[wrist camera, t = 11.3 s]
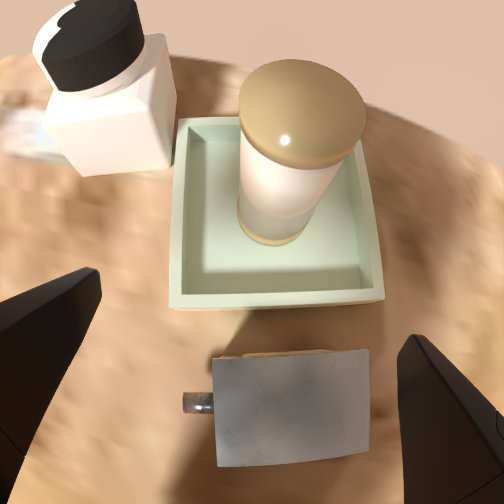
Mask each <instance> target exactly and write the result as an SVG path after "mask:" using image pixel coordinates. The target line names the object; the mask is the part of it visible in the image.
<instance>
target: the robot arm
mask: <svg viewBox="0 0 504 504" xmlns="http://www.w3.org/2000/svg"><path fill="white" fill-rule="evenodd" d="M101 298H102V290H101V281H100V273H99V271H98V270H96V269H93V268H89V267H84V268H82V269H79V270H77V271H74V272H72V273H69V274H67V275H64V276H62V277H59V278H57V279H54V280H52V281H50V282H47V283H45V284H42V285H40V286H37V287H35V288H33V289H30V290H28V291H26V292H23V293H21V294H19V295H16V296H14V297H12V298H9V299H7V300H5V301H2V302H0V504H7V502H8V499H9V497H10V494H11V491H12V489H13V486H14V483H15V481H16V478H17V476H18V473H19V471H20V469H21V466H22V464H23V461H24V459H25V457H24V456H26V454H27V451H28V449H29V447H30V445H31V442H32V440H33V438H34V436H35V433H36V431H37V429H38V427H39V425H40V423H41V421H42V419H43V416H44V414H45V412H46V410H47V408H48V406H49V404H50V402H51V400H52V398H53V396H54V394H55V392H56V390H57V388H58V386H59V384H60V382H61V381H62V379H63V377H64V375H65V373H66V371H67V369H68V367H69V365H70V364H71V362H72V360H73V358H74V356H75V355H76V353H77V351H78V349H79V347H80V345H81V343H82V342H83V339H84V337H85V335H86V333H87V330H88V328H89V326H90V323H91V321H92V319H93V317H94V314H95V312H96V310H97V308H98V306H99V303H100V301H101ZM397 380H398V411H399V421H400V432H401V444H402V459H403V479H404V504H504V417H503V416H502V415H501V414H500V413H499V411H498V410H496V408H495V407H494V406H493V405H492V404H491V403H490V402H489V401H488V400H487V399H486V398H485V397H484V396H483V394H482V393H481V392H480V391H479V390H478V389H477V388H476V387H475V386H474V385H473V384H472V383H471V382H470V381H469V380H468V379H467V378H466V377H465V376H464V375H463V374H462V373H461V372H460V371H459V370H458V369H457V368H456V367H455V366H454V365H453V364H452V363H451V362H450V361H449V360H448V359H447V358H446V357H445V356H444V355H443V354H442V353H441V352H440V351H439V350H438V349H437V348H436V347H435V346H434V345H433V344H432V343H431V342H430V341H429V340H428V339H427V338H426V337H425V336H423V335H417V334H412V335H410V336H409V337H408V339H407V341H406V342H405V344H404V346H403V347H402V349H401V350H400V352H399V354H398V357H397Z"/></svg>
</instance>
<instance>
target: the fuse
mask: <svg viewBox="0 0 504 504" xmlns="http://www.w3.org/2000/svg"><path fill="white" fill-rule="evenodd" d="M366 122H367V113H366V108H365V104H364V102H363V99H362V97H361V96H360V95H359V92H358V91H357V90H356V88H355V87H354V86H353V85H352V84H351V83H350V82H349V81H348V80H347V79H346V78H344V77H343V76H342V75H340V74H339V73H337V72H336V71H334V70H332V69H330V68H328V67H326V66H323V65H320V64H318V63H314V62H311V61H304V60H296V59H292V60H291V59H287V60H279V61H274V62H271V63H268V64H265V65H263V66H261V67H259V68H257V69H256V70H254V71H253V72H252V73H251V74H250V75H249V76H248V77H247V78H246V79H245V81H244V83H243V84H242V87H241V90H240V95H239V123H240V127H241V144H240V176H239V197H238V201H237V218H238V222H239V224H240V227H241V228H242V230H243V232H244V233H245V234H246V235H247V236H248V237H249V238H250V239H252V240H253V241H255V242H257V243H259V244H261V245H265V246H271V247H277V246H283V245H286V244H288V243H291V242H292V241H294V240H295V239H296V238H298V237H299V236H300V234H301V233H302V232H303V230H304V229H305V227H306V225H307V223H308V221H309V218H310V216H311V214H312V212H313V211H314V209H315V207H316V206H317V204H318V202H319V201H320V199H321V198H322V196H323V194H324V193H325V191H326V189H327V188H328V186H329V184H330V183H331V181H332V179H333V177H334V176H335V174H336V172H337V171H338V169H339V167H340V166H341V164H342V162H343V161H344V159H345V158H346V157H347V156H348V155H349V154H350V153H351V152H352V150H353V149H354V147H355V146H356V144H357V142H358V141H359V139H360V137H361V136H362V134H363V132H364V130H365V126H366Z"/></svg>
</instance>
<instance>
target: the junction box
mask: <svg viewBox="0 0 504 504" xmlns="http://www.w3.org/2000/svg"><path fill="white" fill-rule="evenodd" d="M212 376H213V393H204V392H184V393H183V411H184V413H194V414H214V419H215V437H216V453H217V467H243V466H264V465H278V464H289V463H298V462H307V461H315V460H322V459H329V458H335V457H341V456H346V455H352V454H357V453H362V452H367V451H369V435H370V359H369V349H357V350H348V351H341V350H323V349H317V350H304V351H289V352H271V353H247V354H243V355H226V356H221V357H220V358H212Z"/></svg>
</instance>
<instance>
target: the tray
mask: <svg viewBox="0 0 504 504" xmlns="http://www.w3.org/2000/svg"><path fill="white" fill-rule="evenodd" d="M240 144H241V127H240V123H239V117H201V118H181V119H179V121H178V130H177V141H176V152H175V164H174V177H173V192H172V209H171V230H170V260H169V308H172V309H174V310H176V311H216V310H258V309H285V308H306V307H324V306H340V305H355V304H368V303H373V302H376V301H380V300H383V299H385V291H384V280H383V271H382V262H381V254H380V246H379V238H378V231H377V224H376V218H375V211H374V205H373V199H372V194H371V188H370V183H369V177H368V172H367V167H366V162H365V157H364V153H363V148H362V144H361V139H359V141H358V142H357V144H356V146H355V147H354V149H353V150H352V152H351V153H350V154H349V155H348V156H347V157H346V158H345V159H344V161H343V162H342V164H341V166H340V167H339V169H338V171H337V172H336V174H335V176H334V177H333V179H332V181H331V183H330V184H329V186H328V188H327V189H326V191H325V193H324V194H323V196H322V198H321V199H320V201H319V202H318V204H317V206H316V207H315V209H314V211H313V212H312V214H311V216H310V218H309V221H308V223H307V225H306V227H305V229H304V230H303V232H302V233H301V234H300V236H299V237H298V238H296V239H295V240H294V241H292V242H291V243H288V244H286V245H283V246H277V247H271V246H265V245H261V244H259V243H257V242H255V241H253V240H252V239H250V238H249V237H248V236H247V235H246V234H245V233H244V232H243V230H242V228H241V227H240V224H239V222H238V218H237V201H238V197H239V176H240Z"/></svg>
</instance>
